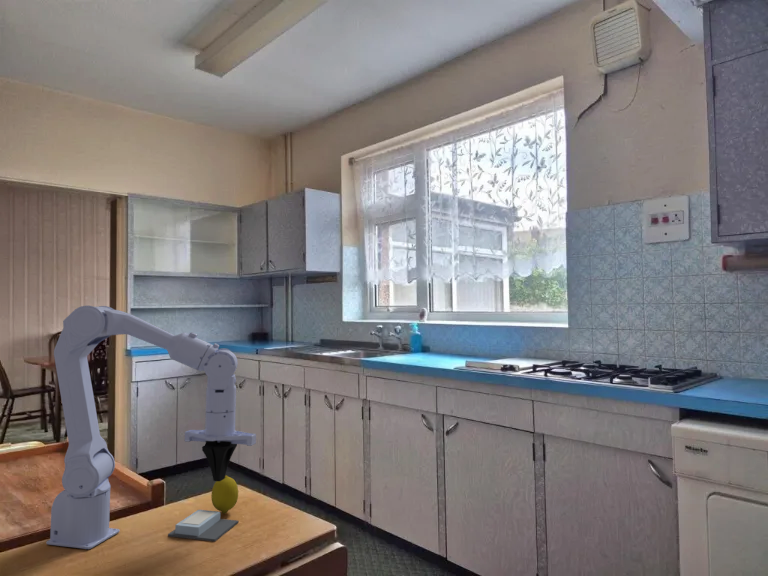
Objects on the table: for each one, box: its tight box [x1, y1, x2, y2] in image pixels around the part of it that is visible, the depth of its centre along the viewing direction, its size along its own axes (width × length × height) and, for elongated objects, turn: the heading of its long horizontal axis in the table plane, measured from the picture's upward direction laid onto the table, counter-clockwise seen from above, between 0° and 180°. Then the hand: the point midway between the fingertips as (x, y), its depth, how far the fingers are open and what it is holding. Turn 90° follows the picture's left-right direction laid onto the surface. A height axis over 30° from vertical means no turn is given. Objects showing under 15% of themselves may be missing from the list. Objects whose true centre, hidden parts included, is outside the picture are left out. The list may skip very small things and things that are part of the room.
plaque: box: [174, 509, 221, 536], centre depth 103 cm, size 2×8×5 cm
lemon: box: [210, 474, 239, 514], centre depth 111 cm, size 6×6×8 cm
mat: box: [167, 518, 239, 542], centre depth 103 cm, size 10×9×1 cm
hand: (219, 479), depth 103 cm, fingers closed
